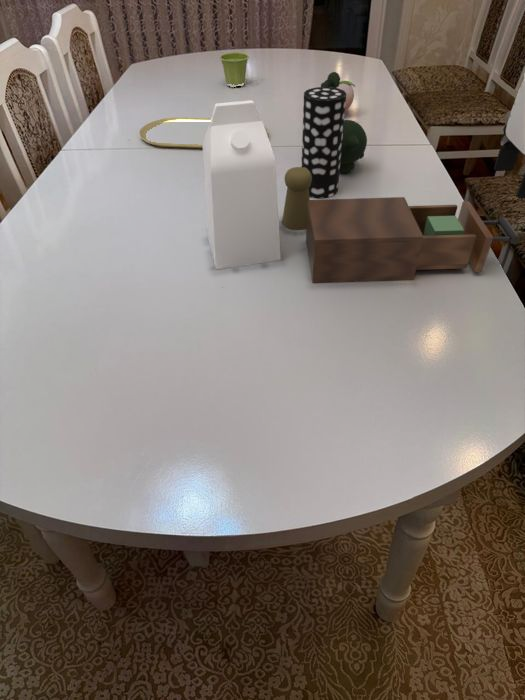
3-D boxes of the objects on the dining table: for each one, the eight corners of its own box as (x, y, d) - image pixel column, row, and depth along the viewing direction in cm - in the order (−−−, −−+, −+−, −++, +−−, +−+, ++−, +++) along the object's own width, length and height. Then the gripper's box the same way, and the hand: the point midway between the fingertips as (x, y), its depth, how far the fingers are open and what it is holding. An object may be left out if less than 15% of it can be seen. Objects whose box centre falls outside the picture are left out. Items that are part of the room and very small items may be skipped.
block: (448, 240, 92) (455, 215, 88) (456, 255, 88) (464, 230, 84) (421, 240, 92) (427, 216, 88) (428, 255, 88) (434, 231, 84)
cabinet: (396, 238, 96) (404, 196, 90) (413, 280, 86) (423, 236, 80) (305, 241, 96) (307, 199, 90) (312, 283, 86) (314, 240, 80)
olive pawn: (278, 227, 100) (278, 174, 92) (287, 213, 104) (288, 161, 96) (306, 232, 98) (309, 179, 91) (315, 217, 102) (318, 165, 95)
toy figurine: (307, 150, 131) (333, 184, 112) (309, 69, 119) (338, 91, 100) (342, 147, 132) (374, 180, 113) (347, 66, 120) (383, 88, 101)
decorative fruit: (326, 122, 141) (328, 83, 134) (317, 112, 146) (319, 75, 140) (357, 118, 142) (361, 80, 135) (347, 109, 148) (350, 72, 141)
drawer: (492, 233, 95) (503, 200, 90) (517, 270, 86) (531, 236, 81) (373, 236, 95) (378, 203, 90) (386, 274, 86) (393, 240, 81)
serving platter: (262, 153, 126) (262, 146, 125) (130, 148, 130) (129, 142, 129) (271, 125, 140) (271, 120, 138) (152, 122, 144) (151, 116, 143)
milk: (266, 228, 100) (264, 88, 82) (280, 260, 92) (281, 112, 73) (207, 236, 98) (191, 95, 80) (216, 269, 90) (200, 120, 72)
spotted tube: (345, 191, 110) (355, 94, 96) (316, 202, 107) (321, 103, 93) (321, 178, 115) (327, 84, 102) (293, 187, 112) (295, 92, 98)
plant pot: (254, 82, 168) (253, 53, 162) (242, 91, 162) (240, 61, 156) (229, 79, 171) (228, 51, 165) (217, 88, 165) (214, 58, 159)
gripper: (615, 86, 63) (561, 208, 75) (554, 50, 76) (516, 160, 88) (556, 87, 63) (511, 210, 75) (505, 51, 76) (474, 161, 88)
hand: (514, 183), depth 82 cm, fingers open, 9 cm apart
